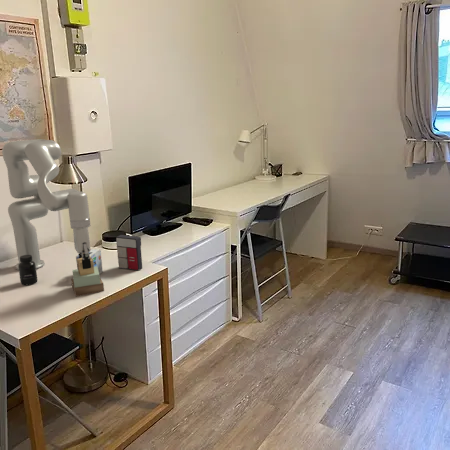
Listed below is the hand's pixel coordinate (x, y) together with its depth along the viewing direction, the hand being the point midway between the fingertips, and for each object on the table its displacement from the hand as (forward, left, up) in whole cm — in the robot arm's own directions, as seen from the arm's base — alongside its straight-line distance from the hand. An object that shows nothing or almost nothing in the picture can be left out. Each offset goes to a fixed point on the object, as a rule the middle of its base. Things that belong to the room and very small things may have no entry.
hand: (85, 265), depth 186 cm
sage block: (0, 0, -7) cm, 7 cm away
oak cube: (0, 0, -3) cm, 3 cm away
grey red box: (-15, +22, -11) cm, 28 cm away
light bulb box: (-15, +4, -11) cm, 19 cm away
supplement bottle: (-20, -21, -11) cm, 31 cm away
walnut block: (0, 0, -11) cm, 11 cm away
